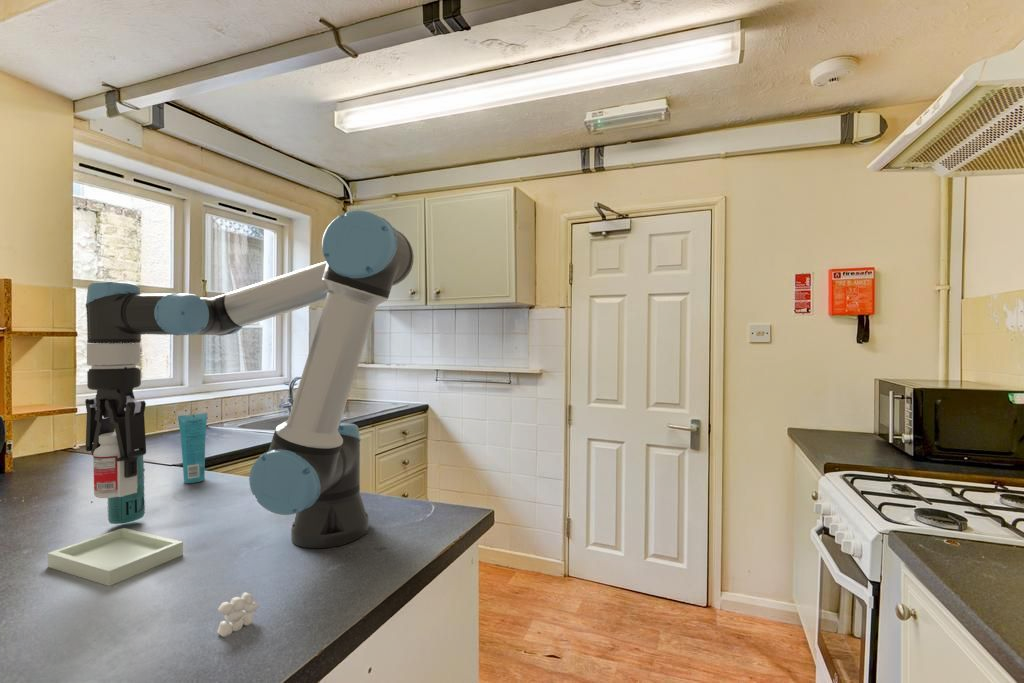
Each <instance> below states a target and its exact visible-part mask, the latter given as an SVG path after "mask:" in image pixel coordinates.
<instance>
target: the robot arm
mask: <svg viewBox="0 0 1024 683" xmlns="http://www.w3.org/2000/svg"><path fill="white" fill-rule="evenodd" d="M321 241H322V242H321V252H322V255H323V256H324V257H323V258H324V260H325V261H323V262H320V263H316V264H313V265H310V266H307V267H305V268H304V267H303V268H300V269H298V270H294V271H292V272H289V273H286V274H285V273H284V274H281V275H279V276H277V277H273V278H270V279H267V280H264V281H260V282H258V283H254V284H251V285H248V286H245V287H242V288H239V289H236V290H233V291H230V292H227V293H224V294H221V295H217V296H214V297H200V296H199V295H197V294H195V293H186V292H185V293H184V292H172V293H141V288H140V286H139V285H137V284H136V283H132V282H123V281H122V282H120V281H94V282H91V283H90V284H89V285H88V286H87V293H86V303H85V308H86V309H85V310H86V334H87V343H86V365H87V366H88V367H91V368H88V370H87V372H86V375H87V377H86V379H87V383H86V384H87V385H86V386H87V389H89V390H90V391H91V390H92V391H96V394H95V397H92V398H91V397H90V398H86V399H85V401H84V402H85V409H86V422H85V423H86V425H85V426H86V427H85V428H86V429H85V451H86V452H90V454H91V456H93V453H94V451H95V449H97V448H98V447H100V445H101V444H99V435H101V434H105V433H111V432H116V437H117V441H118V446H119V451H120V456H121V457H120V458H117V459H116V460H117V482H118V497H122V496H126V495H130V494H133V493H137V458H138V457H139V456H141V455H143V456H144V455H146V453H147V445H146V444H147V443H146V442H147V441H146V424H145V412H146V406H147V405H146V401H145V400H136V398H135V394H134V391H133V390H134V389H135V388H138V387H140V386H141V385H142V369H141V368H140V367H138V366H137V365H140V364H141V352H142V349H141V336H142V335H144V336H145V335H158V336H159V335H163V336H164V335H165V336H166V335H168V336H169V335H173V336H189V335H192V336H193V335H198V336H199V335H200V336H201V335H202V336H217V337H218V336H219V337H221V336H222V337H223V336H227V335H233V334H236V333H238V332H239V331H240V330H241V329H243V327H246V326H250V325H251V324H255V323H258V322H261V321H265V320H268V319H271V318H275V317H278V316H281V315H285V314H287V313H289V312H290V313H291V312H293V311H294V312H295V311H296V310H300V309H303V308H307V307H309V306H312V305H317V304H318V303H322V302H324V303H323V307H322V310H321V313H320V316H319V319H318V322H317V326H316V330H315V332H314V335H313V339H312V341H311V345H310V348H309V351H308V355H307V358H306V361H305V365H304V368H303V371H302V375H301V378H300V380H299V384H298V387H297V390H296V393H295V396H294V399H293V403H292V406H291V410H290V412H289V416H288V419H287V420H285V421H284V422H282V423H279V424H278V425H277V426H276V427H275V430H274V431H273V436H272V439H271V442H270V446H269V449H268V451H265V452H264V453H262V454H260V456H258V458H257V459H256V460H255V462H254V463H253V464H252V466H251V468H250V472H249V477H248V481H249V488H250V491H251V494H252V495H253V496H254V497H255V499H256V501H257V503H258V504H259V505H260V506H261V507H262V508H264V509H265V510H267V511H269V512H270V513H273V514H276V515H280V516H292V515H295V517H294V522H293V523H292V526H291V529H290V530H291V535H290V536H291V543H292V544H294V545H296V546H298V547H302V548H306V549H323V548H324V549H325V548H332V547H333V548H334V547H339V546H342V545H345V544H349V543H352V542H354V541H356V540H359V539H360V538H362V537H363V536H364V535H366V534H367V532H368V531H369V529H370V528H369V527H370V525H369V521H370V520H369V519H370V518H369V515H368V513H367V512H366V509H365V506H364V505H365V504H364V502H363V499H362V495H361V488H360V486H361V484H360V482H361V478H360V477H361V473H360V472H361V471H360V470H361V468H360V467H361V460H360V459H361V456H360V455H361V451H360V450H361V449H360V448H361V445H360V444H361V437H360V429H359V426H358V425H357V424H354V423H348V422H341V421H342V417H343V415H344V411H345V408H346V406H347V405H346V404H347V401H348V399H349V395H350V392H351V389H352V386H353V382H354V380H355V376H356V372H357V369H358V366H359V363H360V360H361V357H362V354H363V350H364V348H365V344H366V341H367V338H368V335H369V331H370V327H371V326H372V322H373V318H374V316H375V312H376V310H377V307H378V306H379V305H381V304H382V303H384V302H387V301H388V299H389V297H390V294H391V291H392V287H393V286H396V285H398V284H400V283H401V282H403V281H404V280H405V279H406V278H407V277H408V276H409V274H410V273H411V271H412V269H413V265H414V259H415V258H414V257H415V256H414V250H413V246H412V245H411V243H410V241H409V240H408V238H407V237H406V236H405V235H404V233H402V232H401V231H399V230H398V229H396V228H395V227H393V225H392V224H391V223H390V222H389V221H388V220H387V219H385V218H384V217H381V216H379V215H377V214H375V213H373V212H370V211H366V210H351V211H347V212H344V213H342V214H341V215H338V216H337V217H335V218H334V219H333V220H332V221H331V222H330V223H329V224H328V226H327V227H326V229H325V230H324V233H323V236H322V240H321Z"/></svg>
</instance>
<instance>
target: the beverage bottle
mask: <svg viewBox="0 0 1024 683" xmlns="http://www.w3.org/2000/svg"><path fill="white" fill-rule="evenodd" d="M145 472H146V470H145V462H144V455H141V456H139V457H138V458H137V478H138V487H137V493H133V494H130V495H126V496H122V497H112V498H107V509H106V510H107V520H108V522H109V524H113V525H119V524H121V525H122V524H127V523H130V522H135V521H138V520H140V519H142V518H144V516H145V513H146V505H145V503H146V501H145V490H146V488H145Z"/></svg>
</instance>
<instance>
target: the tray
mask: <svg viewBox="0 0 1024 683" xmlns="http://www.w3.org/2000/svg"><path fill="white" fill-rule="evenodd" d="M181 556H184V541H181V540H176V539H174V538H168V537H164V536H160V535H156V534H151V533H148V532H142V531H138V530H134V529H130V528H125V527H122V528H119V529H115V530H112V531H110V532H107V533H104V534H101V535H97V536H95V537H92V538H89V539H85V540H83V541H80V542H76V543H74V544H71V545H69V546H68V545H67V546H65V547H61V548H59V549H56V550H52V551H49V552H48V553H47V568H50V569H53V570H56V571H60V572H63V573H65V574H69V575H71V576H72V575H73V576H76V577H79V578H82V579H85V580H88V581H92V582H95V583H98V584H101V585H104V586H108V587H110V586H113V585H116V584H118V583H120V582H123V581H125V580H127V579H130V578H132V577H135V576H137V575H139V574H141V573H144V572H146V571H149V570H151V569H153V568H155V567H158V566H160V565H163V564H164V563H167V562H170V561H172V560H174V559H177V558H179V557H181Z"/></svg>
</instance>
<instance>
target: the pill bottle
mask: <svg viewBox="0 0 1024 683" xmlns="http://www.w3.org/2000/svg"><path fill="white" fill-rule="evenodd" d="M99 444H101V445H100V447H98V448H97V449H95V451H94V453H93V455H92V457H93V460H92V462H93V495H94V497H96V498H98V499H108V498H112V497H118V482H117V460H116V459H117V458H120V457H121V456H120V451H119V446H118V441H117V437H116V432H115V431H114V432H111V433H105V434H101V435H99ZM137 487H138V478H137Z"/></svg>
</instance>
